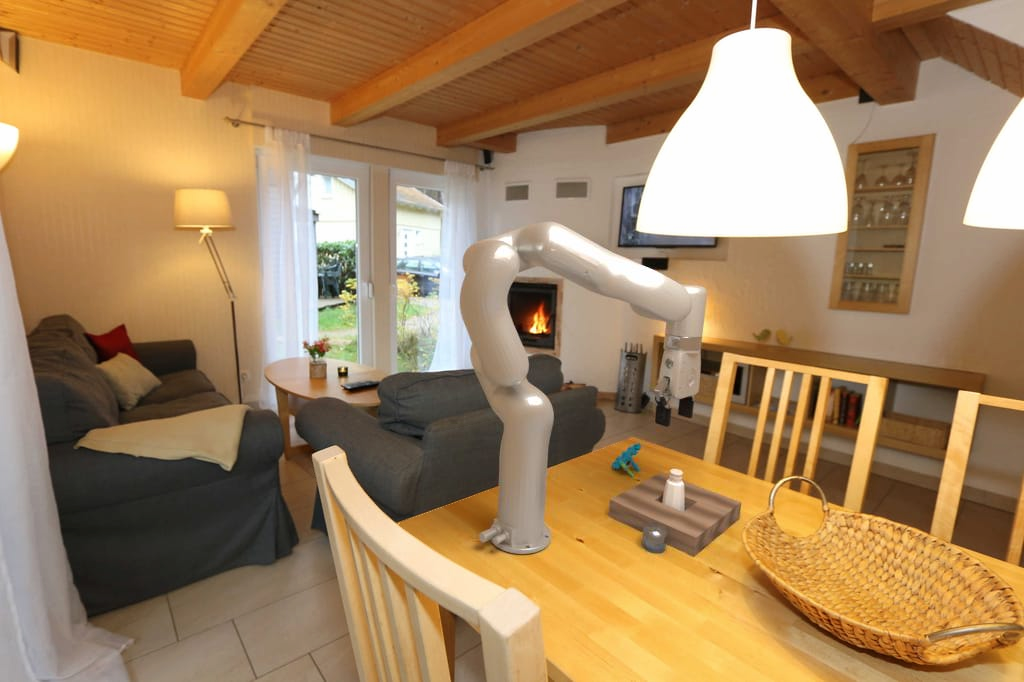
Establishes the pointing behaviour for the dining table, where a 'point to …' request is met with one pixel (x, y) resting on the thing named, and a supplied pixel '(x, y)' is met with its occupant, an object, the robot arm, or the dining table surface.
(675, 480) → the salt shaker
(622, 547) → the dining table surface
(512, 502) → the robot arm
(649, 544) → the short stub
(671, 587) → the dining table surface
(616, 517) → the socket plate
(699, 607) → the dining table surface
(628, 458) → the blue bumpy figure
